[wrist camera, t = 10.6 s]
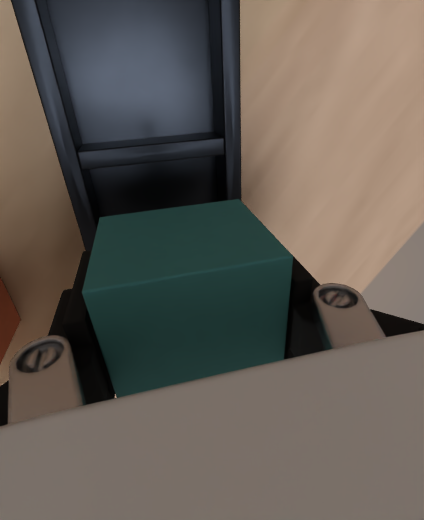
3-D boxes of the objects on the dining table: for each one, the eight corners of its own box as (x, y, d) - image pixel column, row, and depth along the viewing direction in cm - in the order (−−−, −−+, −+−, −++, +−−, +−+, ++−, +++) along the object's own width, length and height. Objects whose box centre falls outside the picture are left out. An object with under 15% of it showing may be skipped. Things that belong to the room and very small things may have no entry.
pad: (127, 326, 13) (125, 426, 9) (98, 216, 10) (80, 292, 7) (240, 305, 14) (282, 388, 10) (239, 198, 11) (294, 255, 8)
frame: (105, 280, 19) (102, 305, 17) (9, -64, 11) (-20, -100, 9) (230, 259, 21) (242, 280, 18) (220, -61, 13) (239, -91, 11)
